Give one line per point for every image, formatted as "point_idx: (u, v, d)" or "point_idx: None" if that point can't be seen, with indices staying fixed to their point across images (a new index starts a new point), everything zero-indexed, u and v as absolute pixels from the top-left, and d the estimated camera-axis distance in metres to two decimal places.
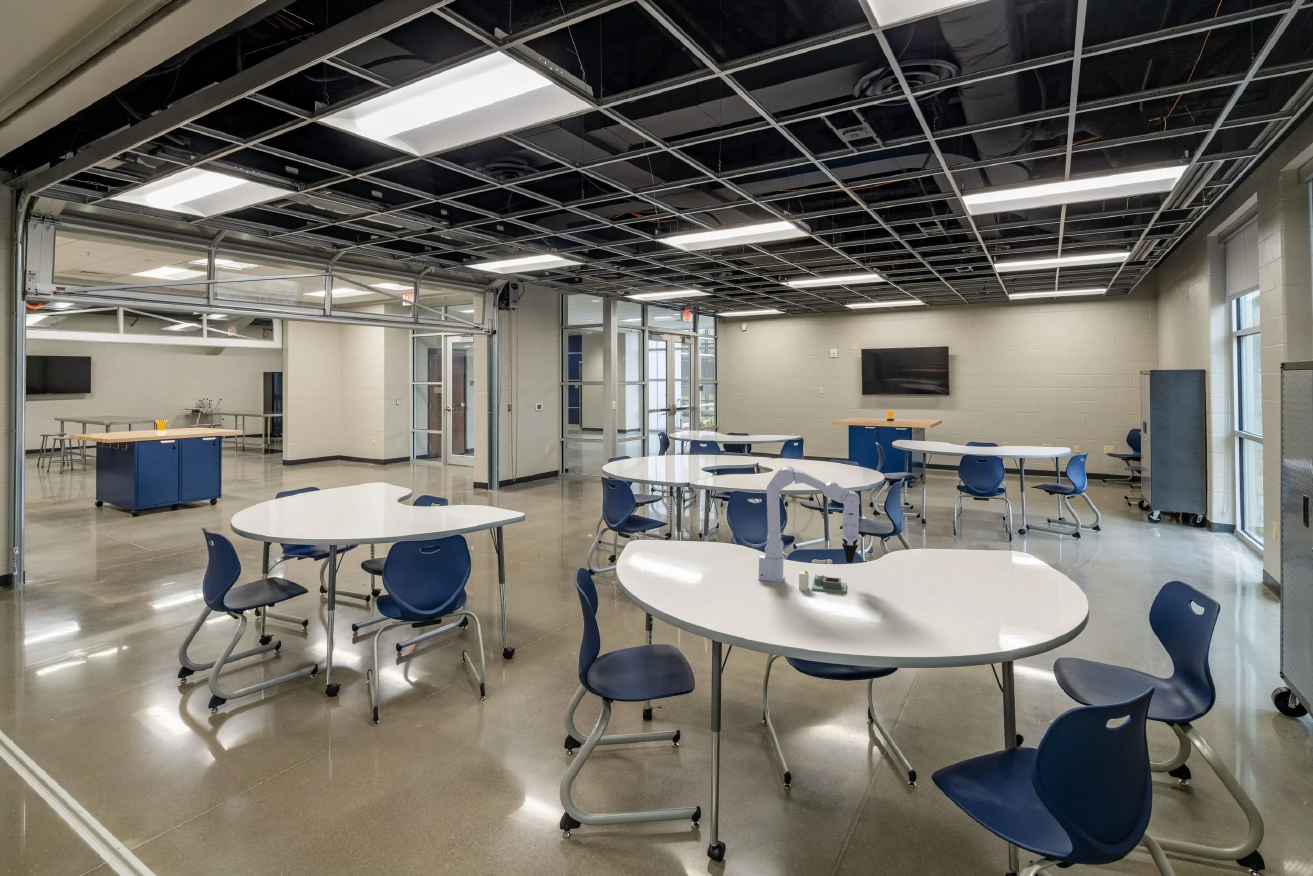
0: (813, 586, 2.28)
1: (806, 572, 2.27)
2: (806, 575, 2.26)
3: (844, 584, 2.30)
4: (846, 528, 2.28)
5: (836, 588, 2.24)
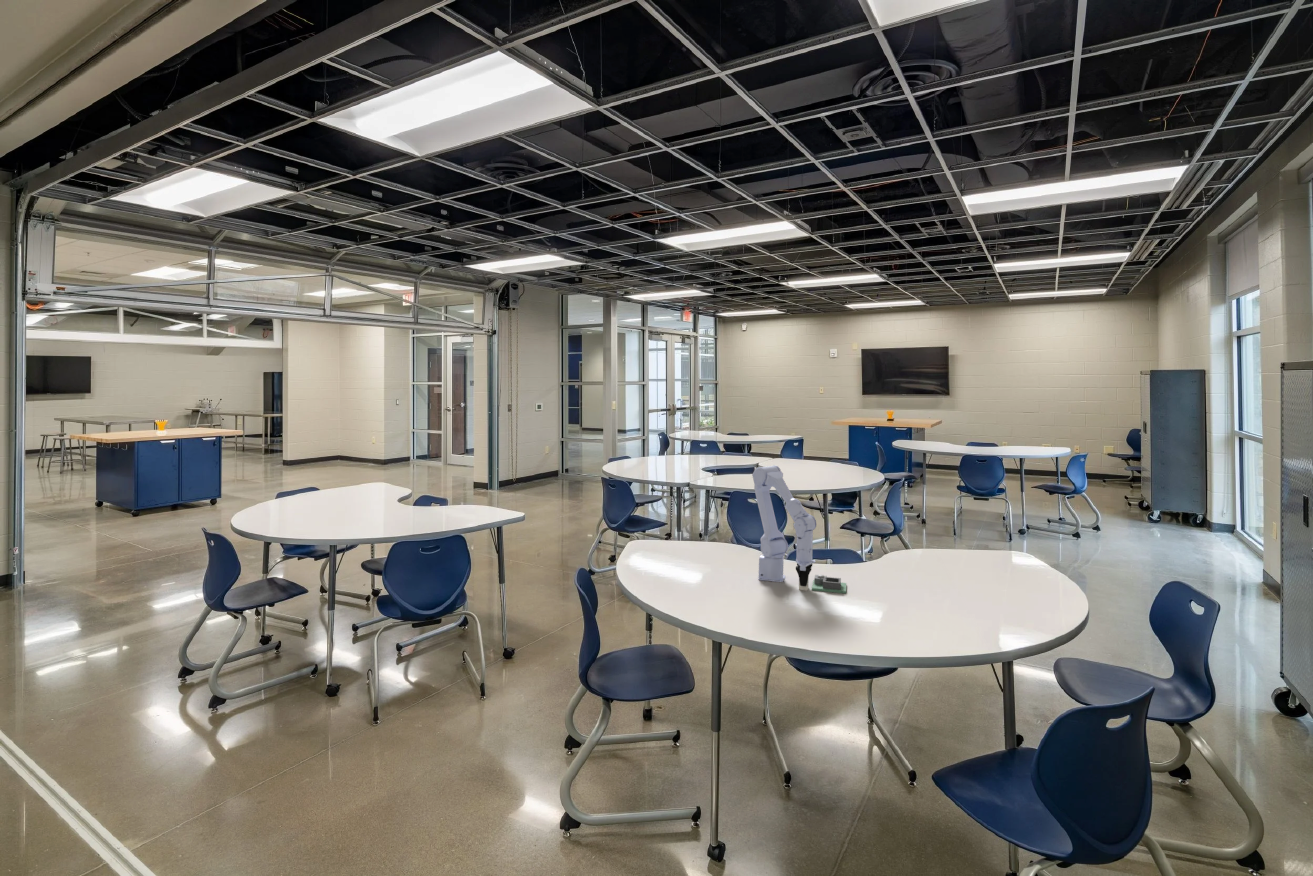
0: (813, 586, 2.28)
1: None
2: None
3: (844, 584, 2.30)
4: (800, 553, 2.25)
5: (836, 588, 2.24)
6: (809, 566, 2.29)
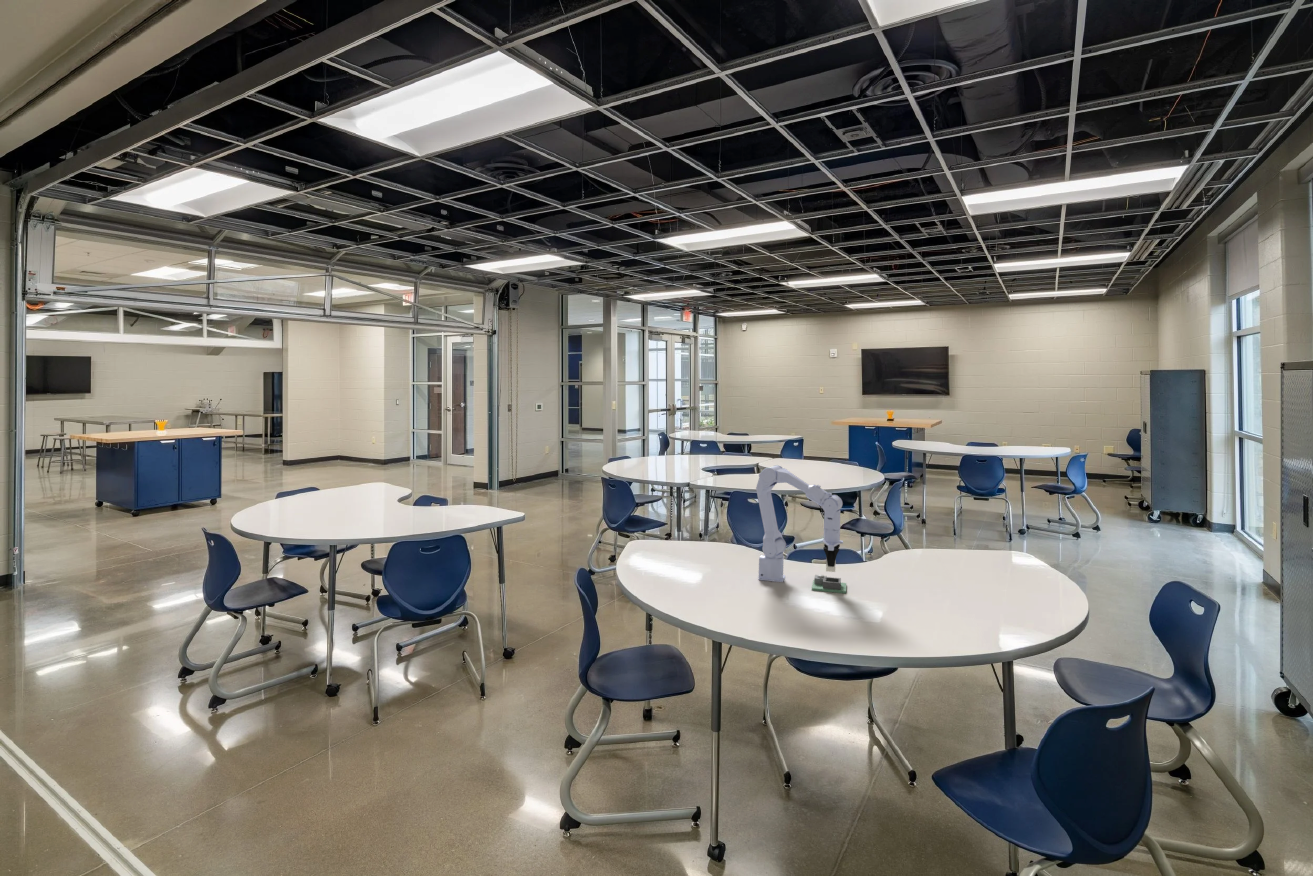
0: (813, 586, 2.28)
1: None
2: None
3: (844, 584, 2.30)
4: (827, 533, 2.24)
5: (836, 588, 2.24)
6: (836, 547, 2.28)
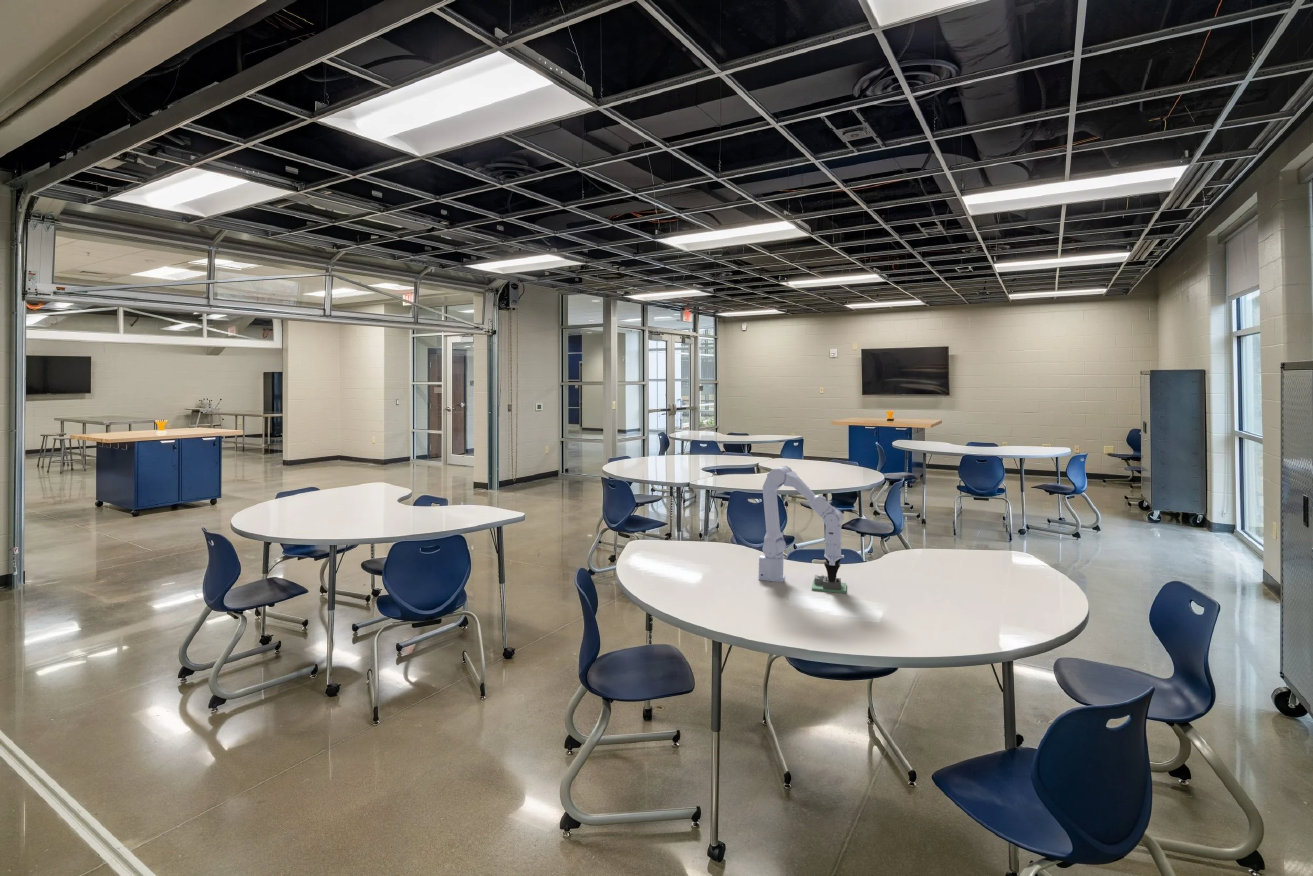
0: (813, 586, 2.28)
1: None
2: None
3: (844, 584, 2.30)
4: (828, 547, 2.25)
5: (836, 588, 2.24)
6: (837, 560, 2.29)
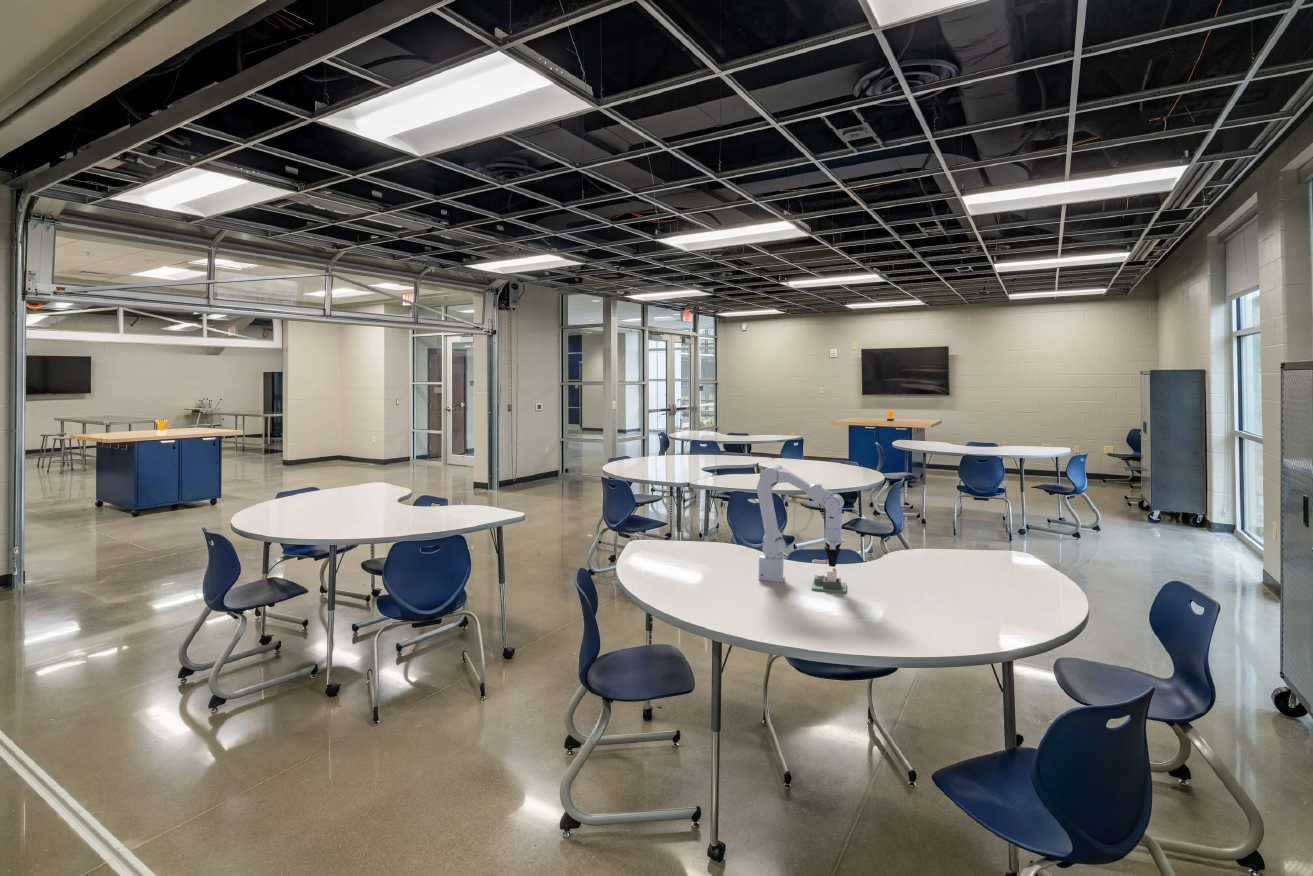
0: (813, 586, 2.28)
1: (834, 570, 2.27)
2: (834, 573, 2.26)
3: (844, 584, 2.30)
4: (829, 532, 2.24)
5: (836, 588, 2.24)
6: (838, 545, 2.29)
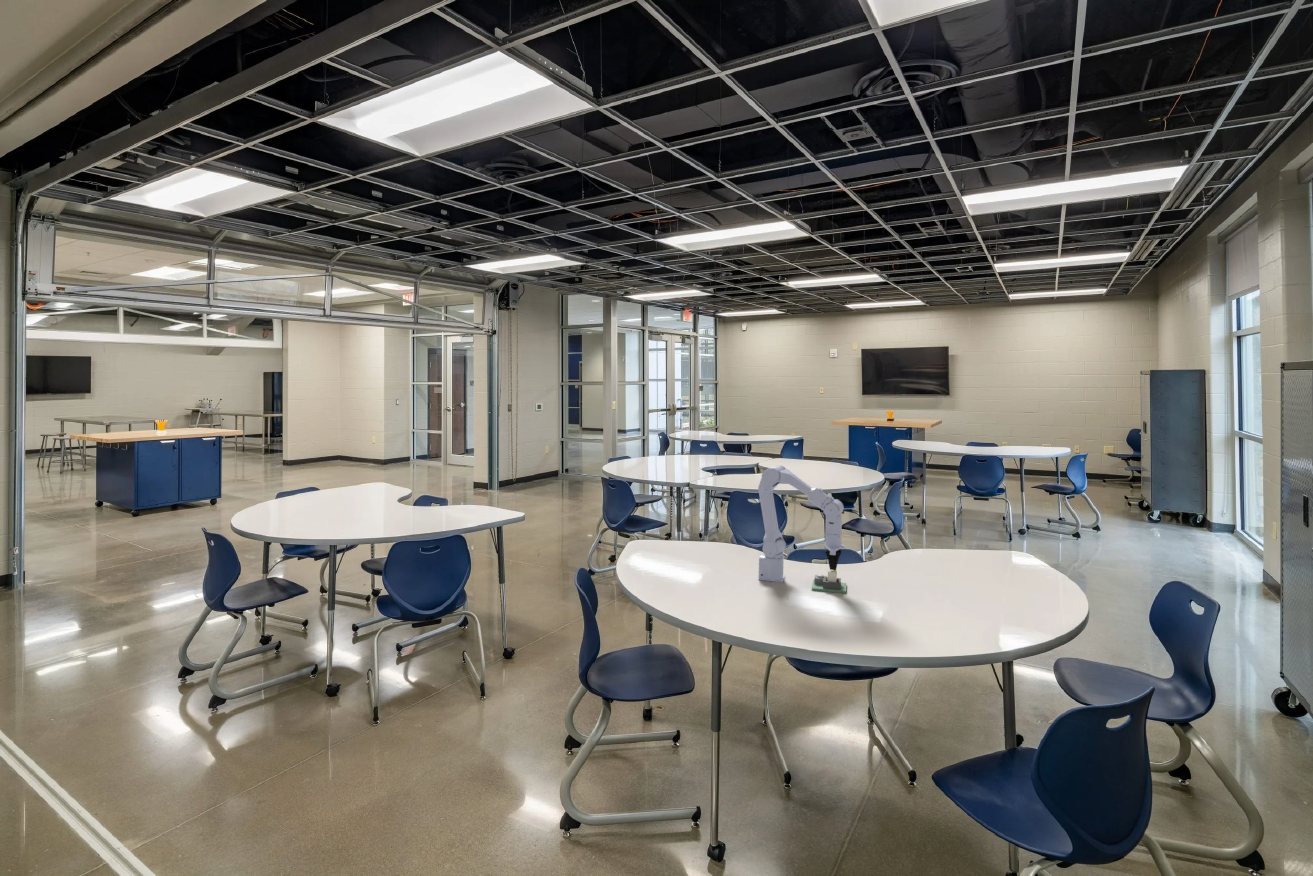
0: (813, 586, 2.28)
1: (835, 570, 2.27)
2: (835, 573, 2.25)
3: (844, 584, 2.30)
4: (829, 537, 2.24)
5: (836, 588, 2.24)
6: None
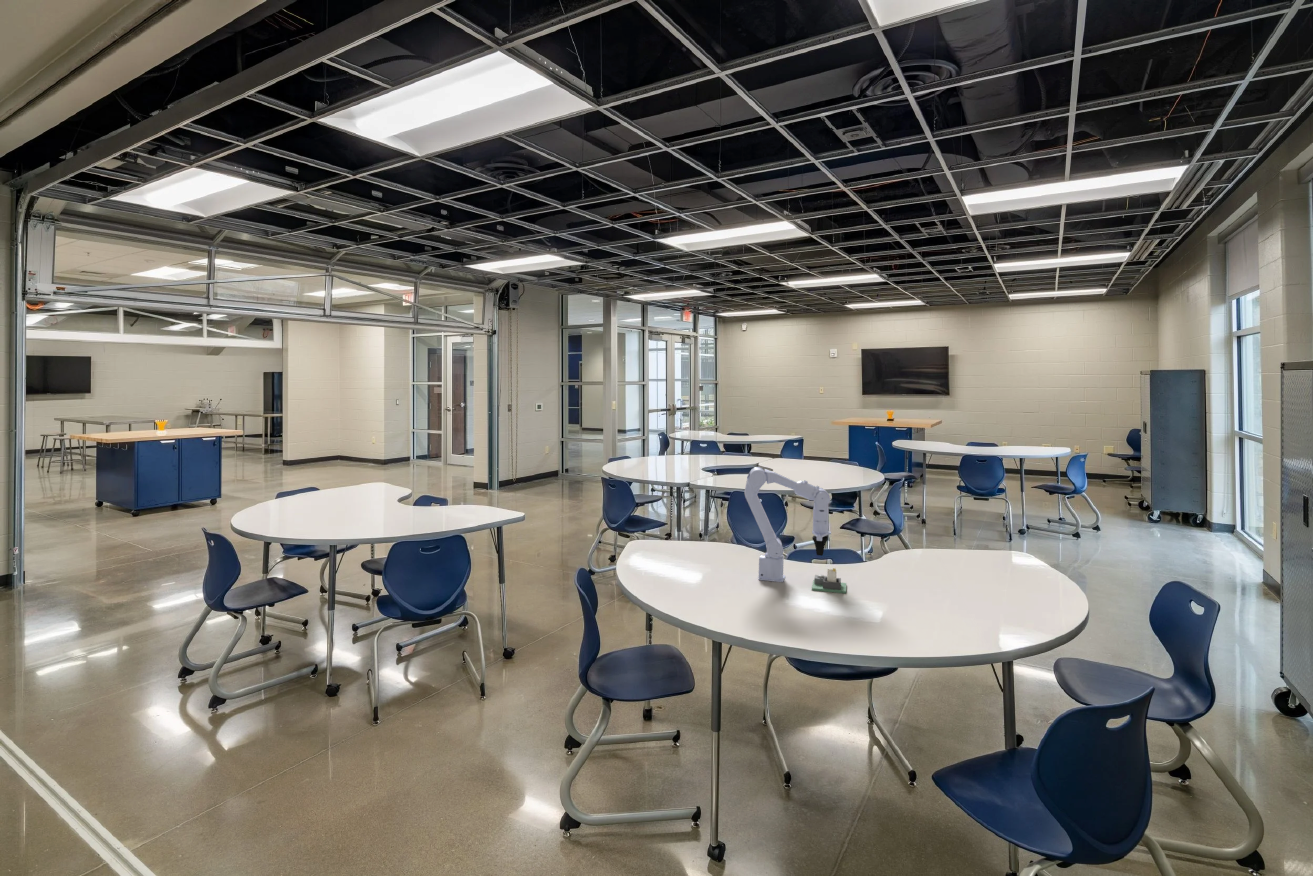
0: (813, 586, 2.28)
1: (834, 570, 2.27)
2: (834, 573, 2.26)
3: (844, 584, 2.30)
4: (816, 524, 2.34)
5: (836, 588, 2.24)
6: None
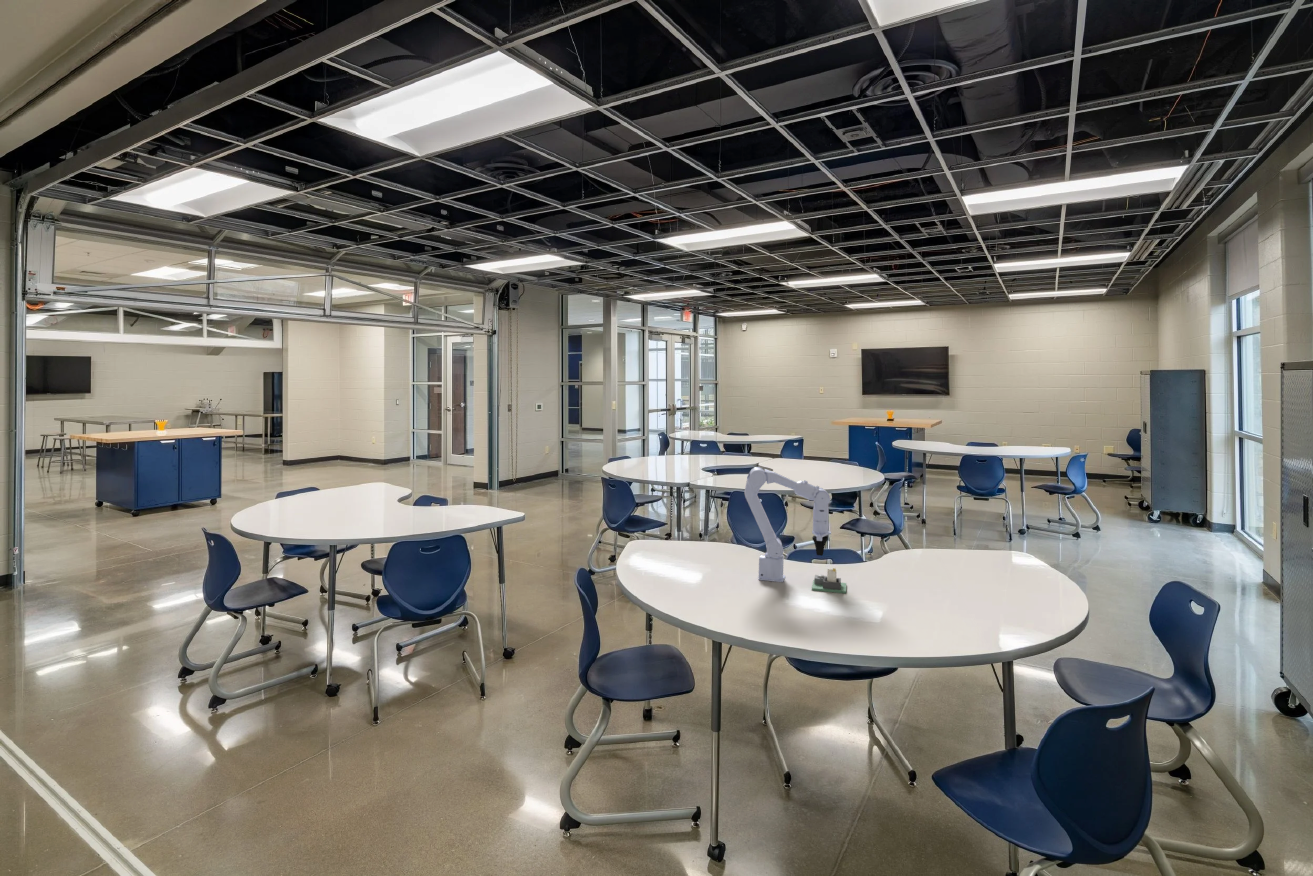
0: (813, 586, 2.28)
1: (834, 570, 2.27)
2: (834, 573, 2.26)
3: (844, 584, 2.30)
4: (816, 524, 2.34)
5: (836, 588, 2.24)
6: None
